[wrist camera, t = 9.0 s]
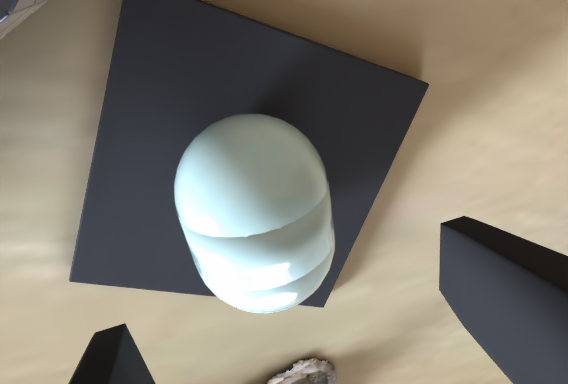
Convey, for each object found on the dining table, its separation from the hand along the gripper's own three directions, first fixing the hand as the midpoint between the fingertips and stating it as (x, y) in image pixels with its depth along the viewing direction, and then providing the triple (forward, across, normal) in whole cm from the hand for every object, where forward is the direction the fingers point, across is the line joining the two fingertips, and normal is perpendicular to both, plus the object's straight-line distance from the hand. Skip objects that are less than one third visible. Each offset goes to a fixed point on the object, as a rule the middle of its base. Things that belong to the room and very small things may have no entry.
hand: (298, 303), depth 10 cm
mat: (+7, 0, 0) cm, 7 cm away
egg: (+4, 0, 0) cm, 4 cm away
